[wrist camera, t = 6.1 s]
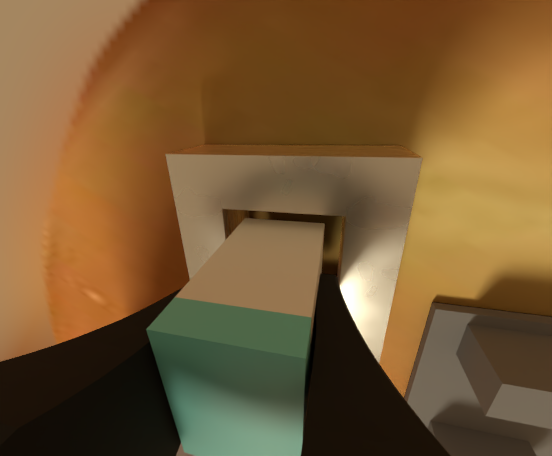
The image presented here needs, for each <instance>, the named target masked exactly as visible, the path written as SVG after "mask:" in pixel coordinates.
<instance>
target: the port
mask: <svg viewBox="0 0 552 456" xmlns="http://www.w3.org/2000/svg"><path fill="white" fill-rule="evenodd" d="M165 155H166V160H167V165H168V170H169V175H170V180H171V186H172V191H173V196H174V201H175V206H176V211H177V217H178V222H179V227H180V232H181V237H182V242H183V247H184V253H185V258H186V263H187V268H188V273H189V278H190V280H191V278H192V277H193V276H194V275H195V274H196V273H197V272H198V271H199V269H200V268H201V267H202V266H203V265H204V264H205V263H206V262H207V260H208V259H209V258H210V257H211V256H212V255H213V254H214V253H215V251H216V250H217V249H218V248H219V247H220V246H221V245H222V243H223V242H224V241H225V240H226V239H227V238H228V237H229V236H230V234H231V233H232V232H233V231H234V230H235V229H236V228H237V227H238V225H239V224H240V223H241V222H242V221H243V220H244V219H245V218H249V210H251V211H267V212H283V213H299V214H315V215H331V216H343V218H342V229H341V239H340V250H339V261H338V271H337V278H338V283H339V286H340V289H341V292H342V295H343V298H344V300H345V303H346V305H347V307H348V309H349V311H350V314H351V316H352V318H353V320H354V322H355V324H356V326H357V328H358V330H359V331H360V333H361V335H362V337H363V339H364V340H365V342H366V344H367V345H368V347H369V349H370V350H371V352H372V354H373V355H374V357H375V358H376V360H377V361H378V363H379V361H380V357H381V352H382V347H383V342H384V338H385V333H386V328H387V324H388V319H389V314H390V309H391V305H392V300H393V295H394V291H395V286H396V281H397V276H398V272H399V267H400V262H401V257H402V253H403V248H404V243H405V239H406V234H407V229H408V224H409V220H410V215H411V210H412V206H413V201H414V196H415V191H416V187H417V182H418V177H419V173H420V168H421V163H422V157H420V156H418V155H417V154H415V153H413V152H411V151H410V150H408V149H406V148H405V147H403V146H392V145H213V144H204V145H200V146H196V147H192V148H188V149H184V150H180V151H176V152H172V153H168V154H165Z"/></svg>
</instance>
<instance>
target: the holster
mask: <svg viewBox="0 0 552 456" xmlns="http://www.w3.org/2000/svg"><path fill="white" fill-rule="evenodd" d="M404 399H405V400H406V401H407V403H408V404H409V405H410V407H411V408H412V409H413V410H414V412H415V413H416V414H417V416H418V417H419V418H420V419H421V421H422V422H423V423H424V424H425V426H426V427H427V428H428V429H429V431H430V432H431V433H432V434H433V435H434V436H435V438H436V439H437V440H438V441H439V442H440V443H441V445H442V446H443V447H444V448H445V449H446V450H447V452H448V453H449V454H450V455H451V456H552V317H548V316H540V315H532V314H524V313H516V312H508V311H500V310H491V309H483V308H475V307H467V306H459V305H451V304H443V303H435V302H432V306H431V309H430V312H429V316H428V319H427V322H426V326H425V329H424V333H423V336H422V339H421V343H420V346H419V350H418V353H417V356H416V360H415V363H414V367H413V370H412V373H411V377H410V380H409V384H408V387H407V390H406V394H405V397H404Z"/></svg>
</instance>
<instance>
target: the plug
mask: <svg viewBox="0 0 552 456" xmlns="http://www.w3.org/2000/svg"><path fill="white" fill-rule="evenodd" d="M324 227H325V223H311V222H297V221H282V220H268V219H253V218H245V219H244V220H243V221H242V222H241V223H240V224H239V225H238V227H237V228H236V229H235V230H234V231H233V232H232V233H231V234H230V236H229V237H228V238H227V239H226V240H225V241H224V242H223V243H222V245H221V246H220V247H219V248H218V249H217V250H216V251H215V253H214V254H213V255H212V256H211V257H210V258H209V259H208V260H207V262H206V263H205V264H204V265H203V266H202V267H201V268H200V269H199V271H198V272H197V273H196V274H195V275H194V276H193V277H192V278H191V280H190V281H189V282H188V283H187V284H186V285H185V286H184V287H183V289H182V290H181V291H180V292H179V293H178V294H177V295H176V296H175V298H174V299H173V300H172V301H171V302H170V303H169V304H168V305H167V307H166V308H165V309H164V310H163V311H162V312H161V313H160V314H159V316H158V317H157V318H156V319H155V320H154V321H153V322H152V323H151V325H150V326H149V327H148V328H147V329H146V330H147V334H148V337H149V340H150V343H151V347H152V350H153V353H154V356H155V360H156V363H157V366H158V369H159V372H160V376H161V379H162V382H163V385H164V389H165V392H166V395H167V398H168V402H169V405H170V408H171V411H172V415H173V418H174V421H175V424H176V427H177V431H178V434H179V437H180V440H181V444H182V447H183V450H184V452H185V453H188V454H192V455H195V456H301V451H302V444H303V436H304V429H305V421H306V414H307V406H308V398H309V391H310V383H311V375H312V367H313V349H314V332H315V314H316V299H317V292H318V285H319V279H320V273H322V259H323V243H324Z"/></svg>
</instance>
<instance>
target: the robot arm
mask: <svg viewBox="0 0 552 456" xmlns="http://www.w3.org/2000/svg"><path fill="white" fill-rule="evenodd" d="M182 289H183V288H181V289H179V290H177V291H176V292H174V293H172V294H170V295H169V296H167V297H165V298H163V299H161V300H160V301H158V302H156V303H154V304H152V305H150V306H148V307H146V308H144V309H142V310H140V311H138V312H136V313H134V314H132V315H130V316H128V317H126V318H123V319H121V320H119V321H117V322H114V323H112V324H109V325H107V326H104V327H102V328H99V329H97V330H94V331H92V332H89V333H87V334H84V335H82V336H79V337H77V338H74V339H71V340H68V341H65V342H62V343H60V344H57V345H54V346H51V347H48V348H45V349H42V350H38V351H36V352H32V353H29V354H26V355H22V356H19V357H16V358H12V359H9V360H5V361H2V362H0V456H195V455H192V454H188V453H185V452H184V450H183V447H182V444H181V440H180V437H179V434H178V431H177V427H176V424H175V421H174V418H173V415H172V411H171V408H170V405H169V402H168V398H167V395H166V392H165V389H164V385H163V382H162V379H161V376H160V372H159V369H158V366H157V363H156V360H155V356H154V353H153V350H152V347H151V343H150V340H149V337H148V334H147V330H146V329H147V328H148V327H149V326H150V325H151V323H152V322H153V321H154V320H155V319H156V318H157V317H158V316H159V314H160V313H161V312H162V311H163V310H164V309H165V308H166V307H167V305H168V304H169V303H170V302H171V301H172V300H173V299H174V298H175V296H176V295H177V294H178V293H179V292H180V291H181V290H182ZM301 456H451V455H450V454H449V453H448V452H447V450H446V449H445V448H444V447H443V446H442V445H441V443H440V442H439V441H438V440H437V439H436V438H435V436H434V435H433V434H432V433H431V432H430V431H429V429H428V428H427V427H426V426H425V424H424V423H423V422H422V421H421V419H420V418H419V417H418V416H417V414H416V413H415V412H414V410H413V409H412V408H411V407H410V405H409V404H408V403H407V401H406V400H405V399H404V398H403V396H402V395H401V394H400V393H399V391H398V390H397V389H396V387H395V386H394V385H393V383H392V382H391V380H390V379H389V377H388V376H387V375H386V373H385V372H384V370H383V369H382V367H381V366H380V364H379V363H378V361H377V360H376V358H375V357H374V355H373V354H372V352H371V350H370V349H369V347H368V345H367V344H366V342H365V340H364V339H363V337H362V335H361V333H360V331H359V330H358V328H357V326H356V324H355V322H354V320H353V318H352V316H351V314H350V311H349V309H348V307H347V305H346V303H345V300H344V298H343V295H342V292H341V289H340V286H339V283H338V278H337V277H336V276H335V275H331V274H322V273H320V279H319V285H318V292H317V299H316V314H315V332H314V349H313V367H312V375H311V383H310V391H309V398H308V406H307V414H306V421H305V429H304V436H303V444H302V451H301Z"/></svg>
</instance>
